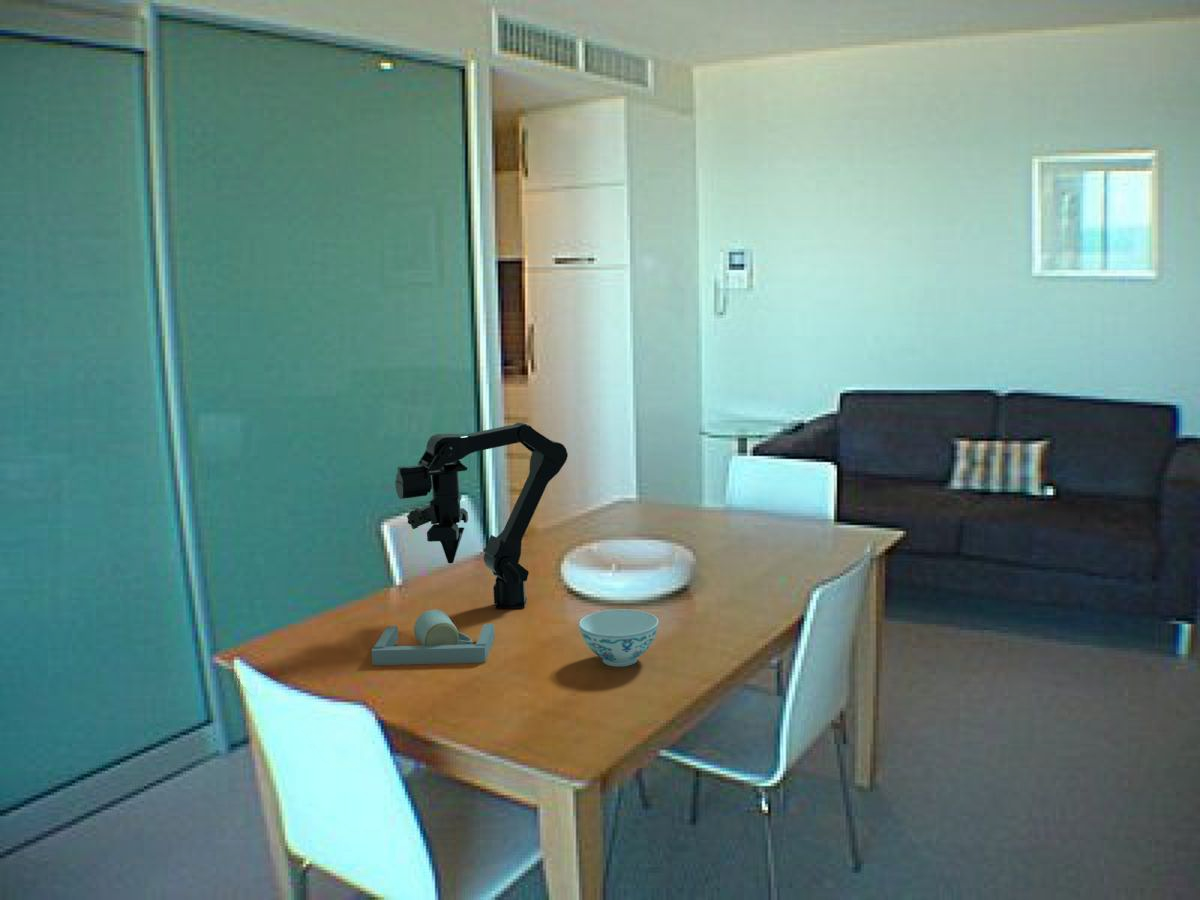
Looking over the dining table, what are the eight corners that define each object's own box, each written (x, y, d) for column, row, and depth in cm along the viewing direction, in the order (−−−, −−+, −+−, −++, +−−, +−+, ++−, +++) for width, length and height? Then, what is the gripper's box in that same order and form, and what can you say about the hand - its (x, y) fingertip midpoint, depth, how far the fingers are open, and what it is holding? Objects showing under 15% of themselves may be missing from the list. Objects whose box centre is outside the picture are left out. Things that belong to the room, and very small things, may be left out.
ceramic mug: (425, 661, 211) (424, 623, 210) (414, 648, 218) (412, 611, 217) (477, 652, 215) (476, 615, 214) (464, 639, 223) (463, 603, 221)
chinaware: (567, 656, 210) (565, 618, 209) (633, 641, 217) (632, 604, 216) (605, 681, 197) (603, 640, 196) (674, 663, 204) (673, 624, 203)
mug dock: (494, 637, 223) (494, 623, 222) (485, 662, 209) (484, 647, 208) (388, 640, 223) (387, 626, 223) (372, 665, 210) (371, 650, 209)
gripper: (416, 485, 242) (421, 552, 245) (400, 504, 224) (405, 576, 227) (466, 483, 242) (470, 551, 245) (453, 501, 224) (458, 574, 226)
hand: (450, 562), depth 236 cm, fingers closed
